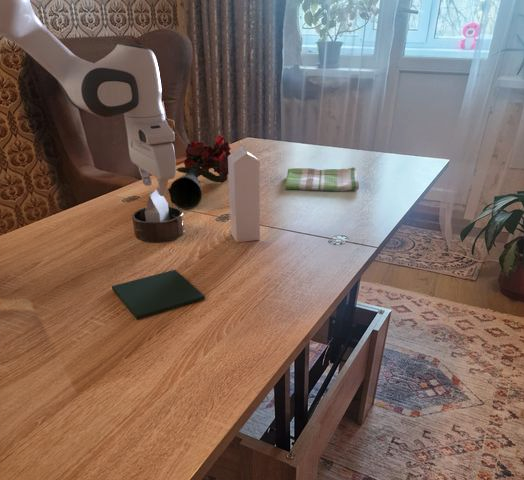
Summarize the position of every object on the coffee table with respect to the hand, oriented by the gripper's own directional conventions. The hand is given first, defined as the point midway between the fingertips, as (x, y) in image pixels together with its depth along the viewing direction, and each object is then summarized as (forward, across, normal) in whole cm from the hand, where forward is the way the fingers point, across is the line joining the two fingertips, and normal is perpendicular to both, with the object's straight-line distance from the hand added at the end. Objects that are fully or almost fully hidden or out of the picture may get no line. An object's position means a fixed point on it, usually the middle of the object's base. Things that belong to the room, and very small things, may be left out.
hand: (154, 190), depth 116 cm
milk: (+11, +14, +17) cm, 25 cm away
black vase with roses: (+11, -25, +24) cm, 37 cm away
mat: (+11, +30, -13) cm, 34 cm away
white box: (+10, 0, 0) cm, 11 cm away
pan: (+11, 0, 0) cm, 11 cm away
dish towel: (+12, -11, +61) cm, 63 cm away
